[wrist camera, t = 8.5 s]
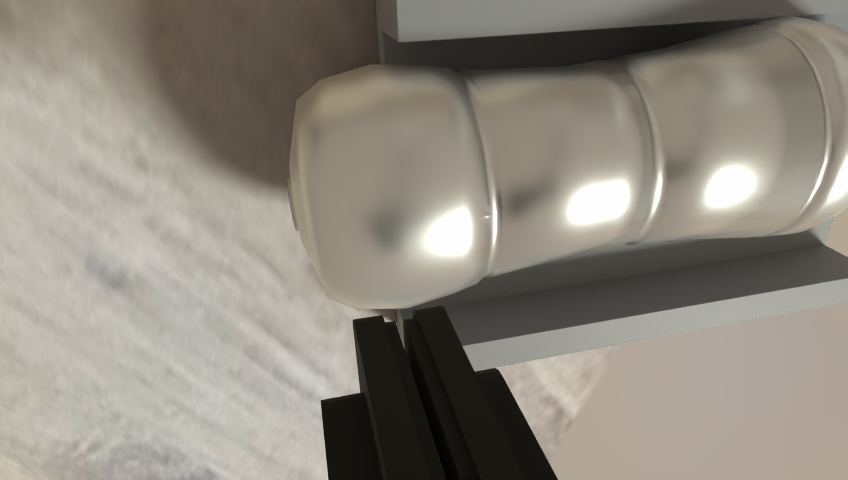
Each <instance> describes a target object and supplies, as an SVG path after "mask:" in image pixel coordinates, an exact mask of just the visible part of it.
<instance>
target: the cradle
mask: <svg viewBox="0 0 848 480" xmlns="http://www.w3.org/2000/svg"><path fill="white" fill-rule="evenodd" d="M375 2H376V17H377V33H378V48H379V63H380V65H426V66H435V67H445V68H451V69H452V70H454V71H455V72H457V73H458V72H459V71H460V70H477V69H503V68H530V67H555V66H570V65H575V64H580V63H586V62H591V61H596V60H610V59H612V58H614V57H618V56H624V55H629V54H635V53H640V52H646V51H651V50H657V49H662V48H666V47H669V46H672V45H676V44H679V43H683V42H686V41H690V40H693V39H697V38H700V37H704V36H707V35H711V34H714V33H718V32H721V31H724V30H728V29H731V28H735V27H738V26H743V25H746V24H748V23H752V22H757V21H763V20H767V19H772V18H777V17H789V16H794V17H800V18H805V19H810V20H814V21H818V22H822V23H826V24H831V25H834V26H837V27H839V28H841V29H843V30H845V31H847V32H848V0H375ZM833 218H834V216H833V217H831V218H830V219H828V220H826V221H824V222H823V223H821V224H819V225H817V226H815V227H812V228H810V229H808V230H805V231H803V232H800V233H793V234H786V235H775V236H767V237H749V238H715V239H681V240H669V241H661V242H653V243H645V244H638V245H626V244H625V245H623V246H620V247H614V248H606V249H598V250H590V251H586V252H582V253H578V254H574V255H571V256H567V257H563V258H560V259H556V260H552V261H548V262H545V263H541V264H537V265H534V266H530V267H526V268H523V269H519V270H515V271H511V272H508V273H504V274H500V275H497V276H493V277H487V278H486V277H483V278H482V279H481V280H480V281H479V282H478V283H477V284H475V285H473V286H470V287H468V288H465V289H463V290H461V291H458V292H456V293H453V294H451V295H447V296H444V297H441V298H438V299H435V300H432V301H429V302H426V303H422V304H419V305H416V306H413V307H410V308H399V309H396V322H397V327H398V330H399V333H400V336H401V339H402V342H403V345H404V333H403V320H404V319H410V318H413V311H414V310H417V309H423V308H429V307H436V306H443V307H444V308H445V310H446V312H447V315H448V317H449V319H450V321H451V323H452V325H453V327H454V329H455V331H456V333H457V336H458V338H459V340H460V342H461V344H462V346H463V348H464V350H465V352H466V355H467V357H468V359H469V361H470V363H471V365H472V367H473V369H474V371H478V370H483V369H489V368H494V367H500V366H505V365H510V364H516V363H521V362H526V361H532V360H537V359H543V358H548V357H553V356H559V355H564V354H570V353H575V352H580V351H586V350H591V349H597V348H602V347H607V346H613V345H618V344H623V343H629V342H634V341H640V340H645V339H650V338H656V337H661V336H666V335H671V334H677V333H683V332H687V331H693V330H699V329H704V328H710V327H715V326H720V325H726V324H731V323H736V322H742V321H747V320H753V319H758V318H764V317H769V316H774V315H780V314H785V313H790V312H796V311H801V310H806V309H812V308H817V307H823V306H828V305H833V304H839V303H844V302H848V257H846V256H844V255H842V254H840V253H839V252H837V251H835V250H833V249H831V248H829V247H827V246H825V241H826V239H827V236H828V233H829V230H830V227H831V224H832V221H833Z"/></svg>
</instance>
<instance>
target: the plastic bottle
mask: <svg viewBox="0 0 848 480" xmlns="http://www.w3.org/2000/svg"><path fill="white" fill-rule="evenodd" d="M289 172H290V177H289V178H287V186H288V194H289V201H290V207H291V212H292V217H293V222H294V226H295V229H296V231H299V232H300V237H301V240H302V243H303V246H304V248H305V250H306V252H307V254H308V256H309V258H310V260H311V262H312V264H313V266H314V268H315V270H316V273H317V275H318V277H319V279H320V281H321V283H322V285H323V287H324V289H325V291H326V293H327V295H328V297H329V298H330V299H333V300H335V301H338V302H340V303H343V304H345V305H348V306H350V307H353V308H355V309H399V308H410V307H413V306H416V305H419V304H422V303H426V302H429V301H432V300H435V299H438V298H441V297H444V296H447V295H451V294H453V293H456V292H458V291H461V290H463V289H465V288H468V287H470V286H473V285H475V284H477V283H478V282H479V281H480V280H481V279H482V278H483V277H486V278H487V277H493V276H497V275H500V274H504V273H508V272H511V271H515V270H519V269H523V268H526V267H530V266H534V265H537V264H541V263H545V262H548V261H552V260H556V259H560V258H563V257H567V256H571V255H574V254H578V253H582V252H586V251H590V250H598V249H606V248H614V247H620V246H623V245H625V244H626V245H638V244H645V243H653V242H661V241H669V240H681V239H715V238H749V237H767V236H775V235H786V234H793V233H800V232H803V231H805V230H808V229H810V228H812V227H815V226H817V225H819V224H821V223H823V222H824V221H826V220H828V219H830V218H831V217H833V216H835V215H837V214H839V213H840V212H841V211H843V210H844V209H846V208H847V207H848V32H847V31H845V30H843V29H841V28H839V27H837V26H834V25H831V24H826V23H822V22H818V21H814V20H810V19H805V18H800V17H794V16H789V17H777V18H772V19H767V20H763V21H757V22H752V23H748V24H746V25H743V26H738V27H735V28H731V29H728V30H724V31H721V32H718V33H714V34H711V35H707V36H704V37H700V38H697V39H693V40H690V41H686V42H683V43H679V44H676V45H672V46H669V47H666V48H662V49H657V50H651V51H646V52H640V53H635V54H629V55H624V56H618V57H614V58H612V59H610V60H596V61H591V62H586V63H580V64H575V65H570V66H555V67H530V68H503V69H477V70H460V71H459V72H458V73H457V72H455V71H454V70H452V69H451V68H445V67H435V66H426V65H366V66H363V67H360V68H356V69H353V70H350V71H346V72H343V73H340V74H337V75H333V76H330V77H327V78H323V79H320V80H319V81H318V82H317V83H316V84H315V85H314V86H312V87H311V88H310V89H309V90H308V91H307V92H305V93H304V94H303V95H302V96H301V97H300V98H298V99H297V100H296V107H295V116H294V125H293V133H292V142H291V151H290V160H289Z"/></svg>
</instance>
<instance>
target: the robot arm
mask: <svg viewBox="0 0 848 480" xmlns="http://www.w3.org/2000/svg"><path fill="white" fill-rule="evenodd" d="M353 330H354V339H355V348H356V357H357V366H358V375H359V384H360V393H357V394H352V395H347V396H341V397H336V398H331V399H325V400H321V409H322V419H323V429H324V439H325V449H326V459H327V469H328V479H329V480H558V479H557V477H556V475H555V474H554V472H553V470H552V468H551V466H550V464H549V462H548V460H547V458H546V457H545V455H544V453H543V451H542V449H541V447H540V445H539V443H538V442H537V440H536V438H535V436H534V434H533V432H532V430H531V429H530V427H529V425H528V423H527V421H526V419H525V417H524V415H523V414H522V412H521V410H520V408H519V406H518V404H517V402H516V401H515V399H514V397H513V395H512V393H511V391H510V389H509V387H508V386H507V384H506V382H505V380H504V378H503V376H502V375H501V373H500V372H499V370H497V369H496V368H492V369H487V370H481V371H476V372H475V371H474V369H473V367H472V365H471V363H470V361H469V359H468V357H467V355H466V352H465V350H464V348H463V346H462V344H461V342H460V340H459V338H458V336H457V333H456V331H455V329H454V327H453V325H452V323H451V321H450V319H449V317H448V315H447V312H446V310H445V308H444V307H443V306H436V307H429V308H423V309H417V310H414V311H413V318H410V319H404V320H403V333H404V347H403V343H402V340H401V337H400V334H399V331H398V328H397V325H396V322H395V321H392V322H386V323H385V321H384V318H383V316H382V315H380V316H373V317H367V318H361V319H355V320H353Z"/></svg>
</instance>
